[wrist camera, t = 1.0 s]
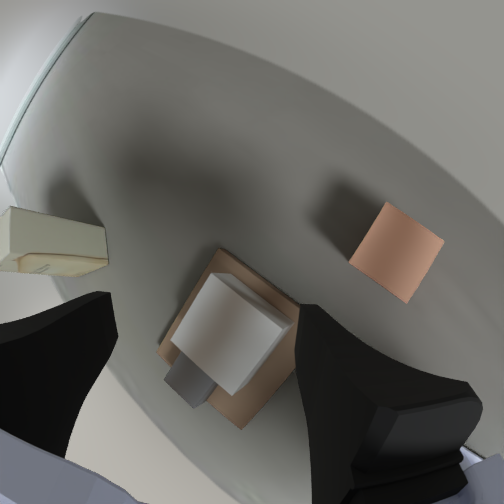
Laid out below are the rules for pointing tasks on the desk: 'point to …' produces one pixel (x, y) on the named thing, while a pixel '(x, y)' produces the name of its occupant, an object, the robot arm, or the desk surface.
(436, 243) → the terracotta block
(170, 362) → the plate
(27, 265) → the skincare box
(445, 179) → the desk surface
